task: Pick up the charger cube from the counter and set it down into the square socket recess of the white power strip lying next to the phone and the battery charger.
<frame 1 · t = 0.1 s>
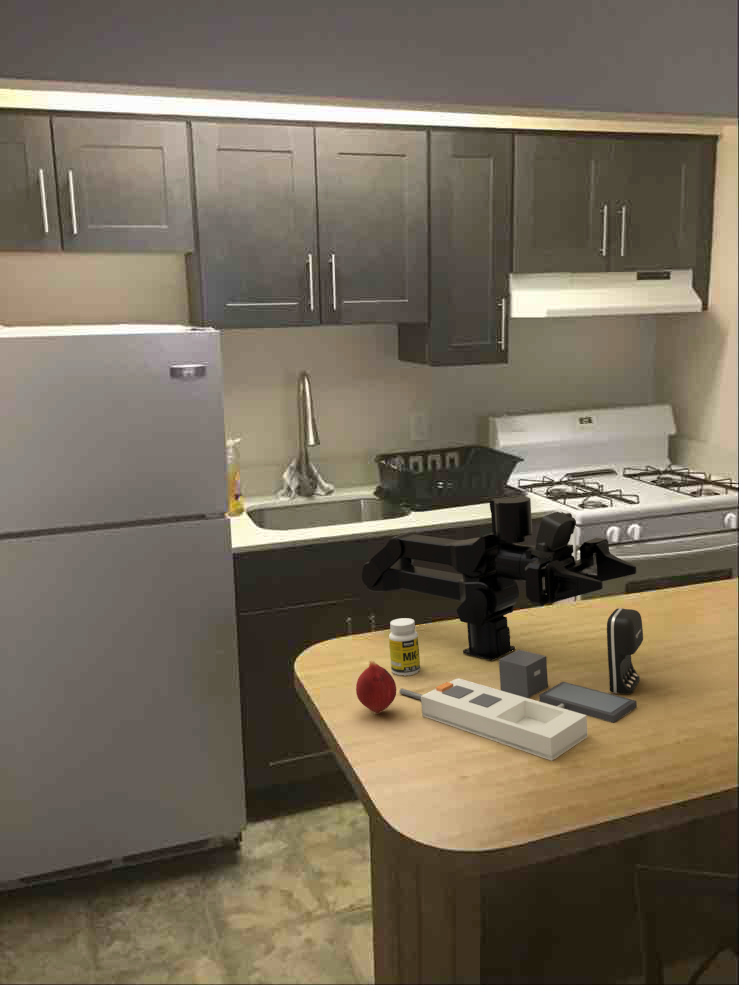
hand: (619, 577, 121), 17 cm above the counter, tool horizontal, fingers open, 9 cm apart
power strip: (501, 725, 114), on the counter
supplement bottle: (406, 672, 137), on the counter
charger cube: (524, 689, 126), on the counter
onion: (378, 714, 122), on the counter
phone: (587, 704, 119), on the counter
battery charger: (628, 688, 123), on the counter
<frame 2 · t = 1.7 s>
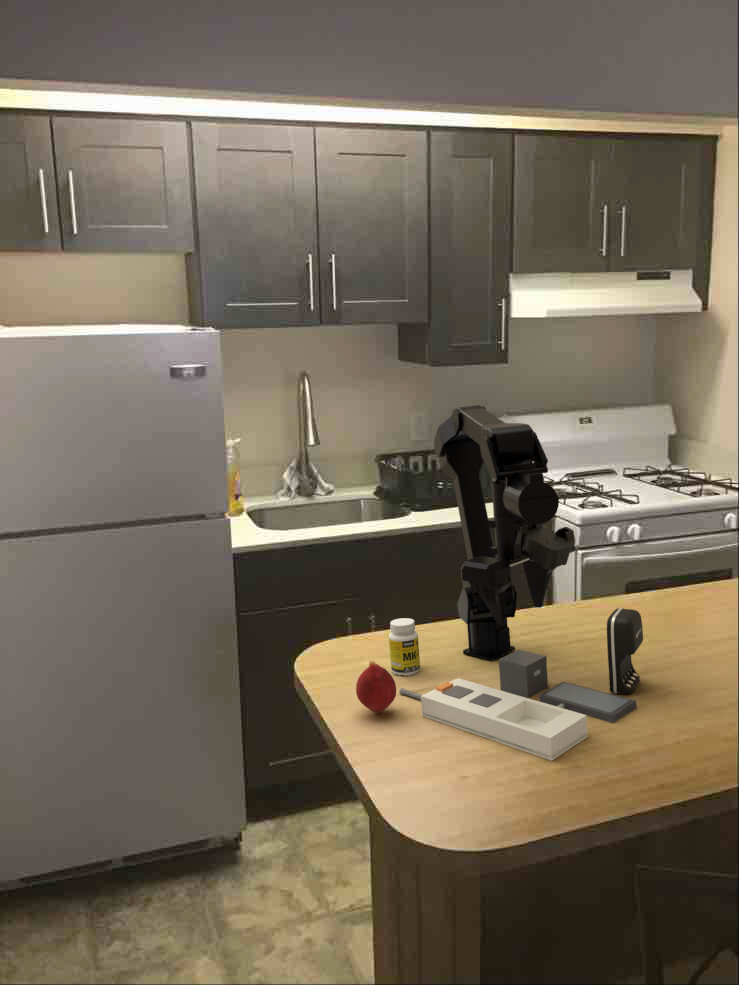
hand: (519, 615, 124), 11 cm above the counter, tool pointing down, fingers open, 9 cm apart
nothing on the counter moved.
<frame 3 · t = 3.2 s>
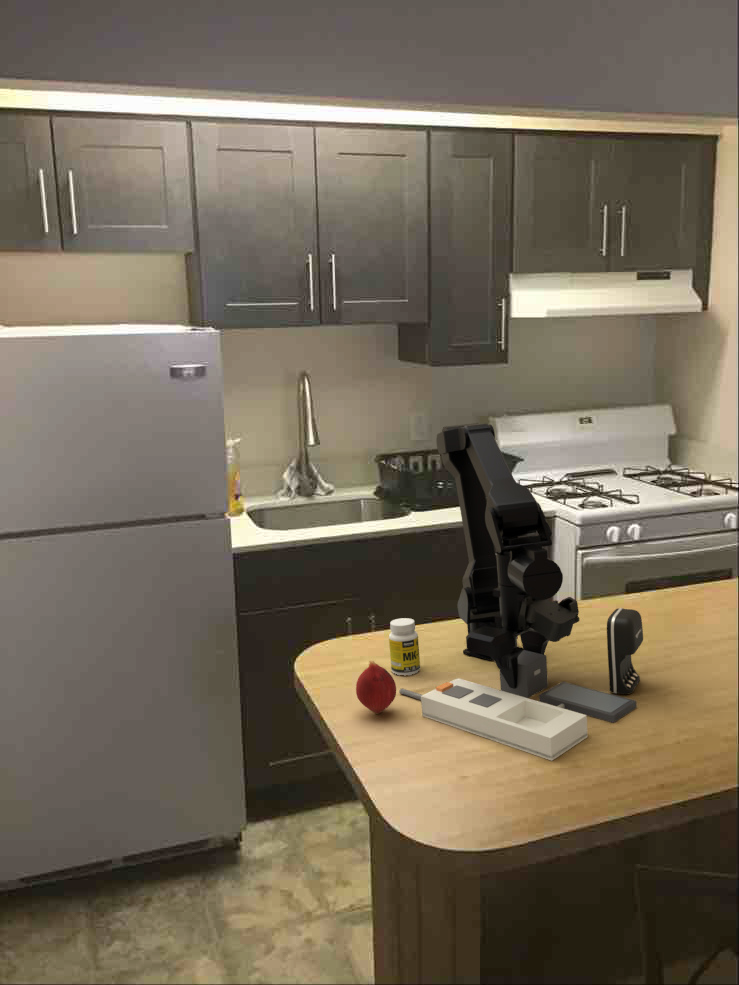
hand: (524, 682, 126), 1 cm above the counter, tool pointing down, fingers closed on charger cube, 5 cm apart
charger cube: (524, 688, 126), on the counter, touching gripper
everything else where it was.
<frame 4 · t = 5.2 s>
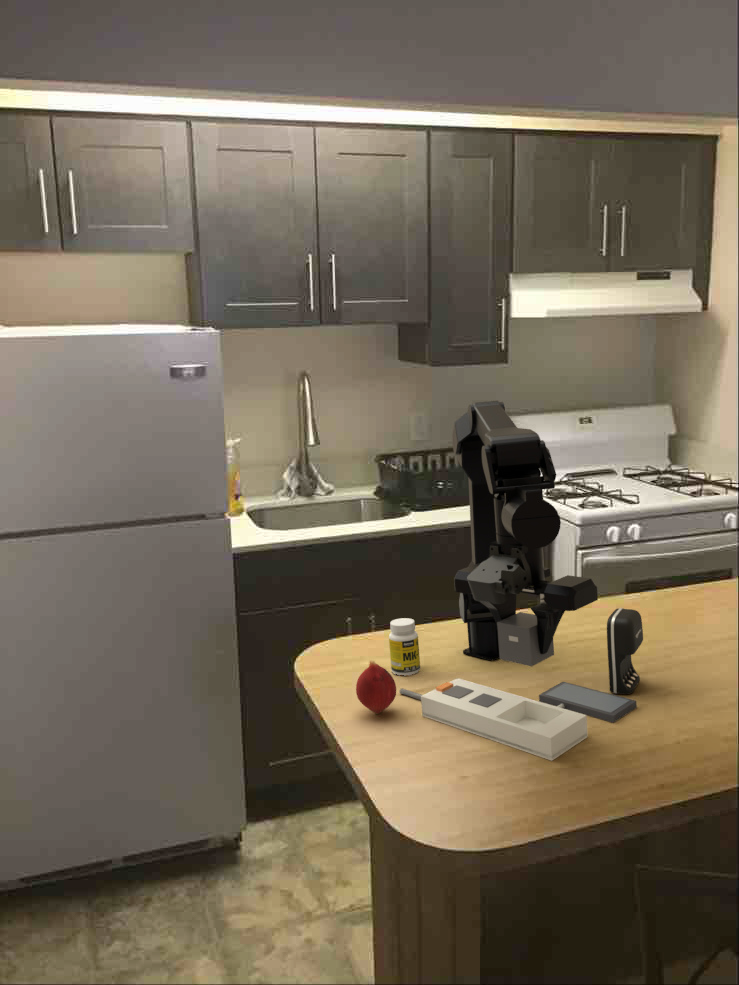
hand: (526, 649, 109), 12 cm above the counter, tool pointing down, fingers closed on charger cube, 5 cm apart
charger cube: (526, 657, 109), point 11 cm above the counter, touching gripper
everything else where it was.
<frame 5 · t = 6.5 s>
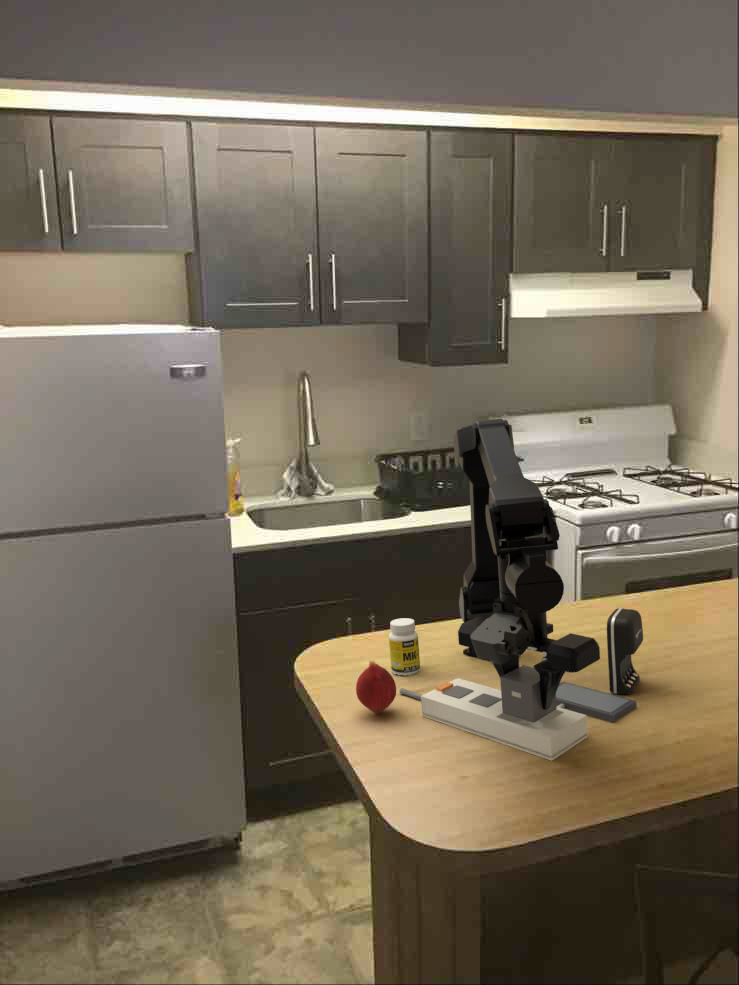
hand: (529, 703, 110), 4 cm above the counter, tool pointing down, fingers closed on charger cube, 5 cm apart
charger cube: (529, 711, 110), point 3 cm above the counter, touching gripper
everything else where it was.
when the fingers open (4 cm above the counter, at t = 7.4 s): charger cube drops 2 cm, resting on power strip.
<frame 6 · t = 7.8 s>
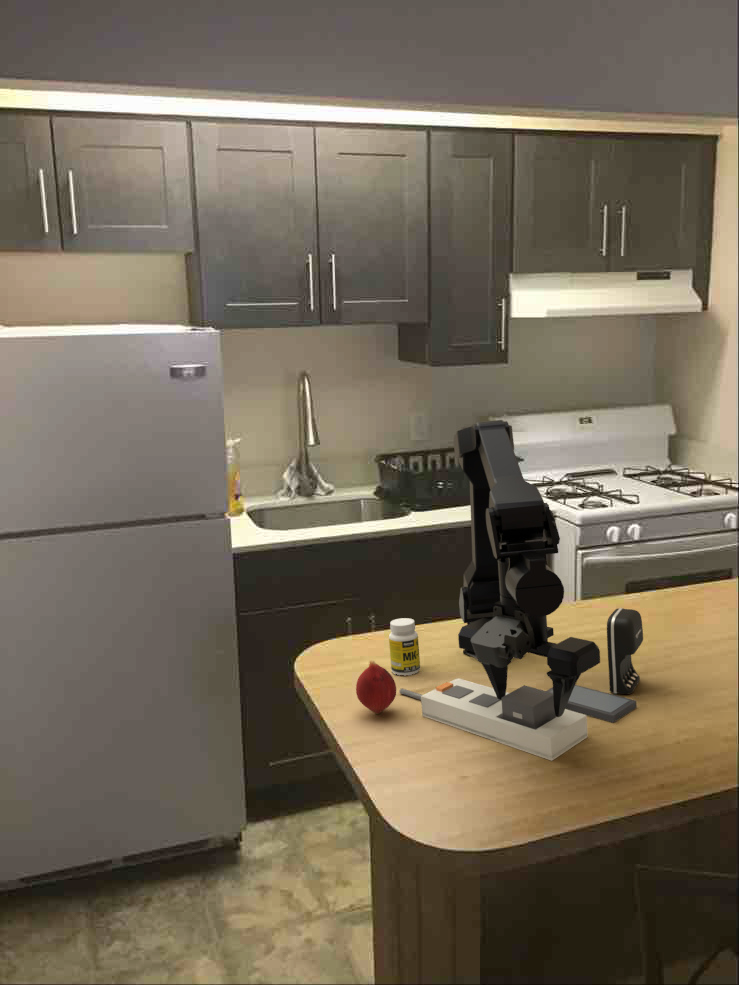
hand: (529, 707, 110), 4 cm above the counter, tool pointing down, fingers open, 9 cm apart
charger cube: (530, 731, 111), point 1 cm above the counter, touching power strip
everything else where it was.
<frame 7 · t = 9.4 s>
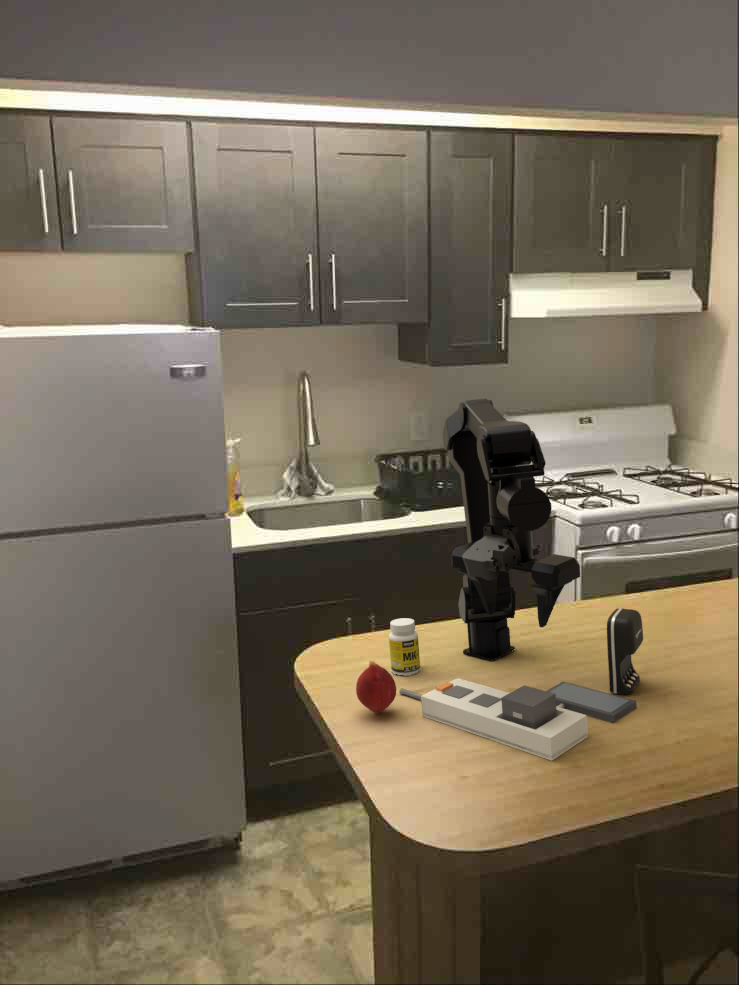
hand: (516, 620, 120), 12 cm above the counter, tool pointing down, fingers open, 9 cm apart
nothing on the counter moved.
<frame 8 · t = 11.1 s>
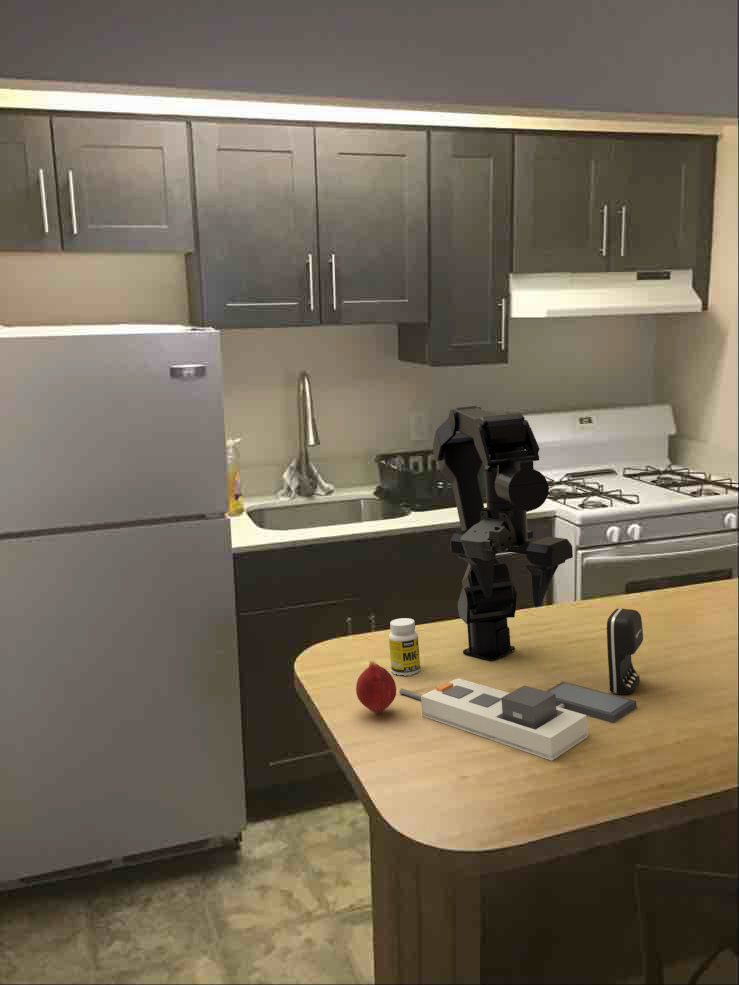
hand: (512, 601, 126), 13 cm above the counter, tool pointing down, fingers open, 9 cm apart
nothing on the counter moved.
at the end: charger cube 0.1 cm from the target spot on the power strip, point 0.6 cm above the power strip's base; the gripper is holding nothing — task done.
